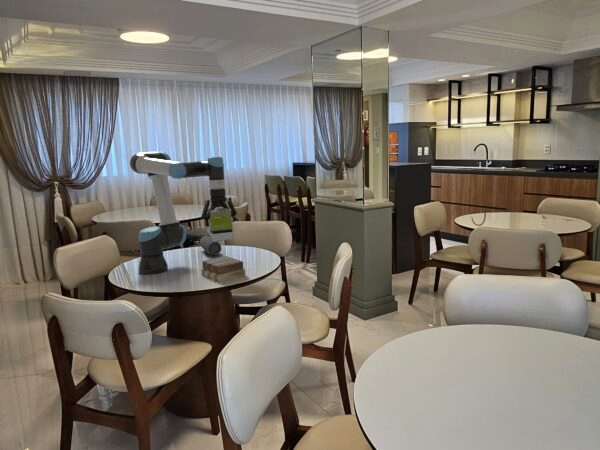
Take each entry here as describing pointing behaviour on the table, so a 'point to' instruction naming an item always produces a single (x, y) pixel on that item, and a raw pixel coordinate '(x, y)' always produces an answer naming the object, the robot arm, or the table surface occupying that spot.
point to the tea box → (221, 224)
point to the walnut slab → (222, 265)
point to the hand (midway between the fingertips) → (220, 231)
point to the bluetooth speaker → (210, 245)
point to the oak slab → (223, 275)
